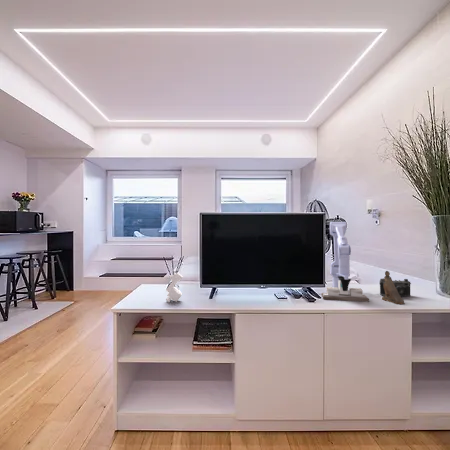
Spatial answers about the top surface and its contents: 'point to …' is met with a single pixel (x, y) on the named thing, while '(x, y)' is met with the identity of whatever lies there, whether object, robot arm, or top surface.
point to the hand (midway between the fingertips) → (344, 289)
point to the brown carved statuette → (391, 291)
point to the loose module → (341, 288)
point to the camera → (397, 287)
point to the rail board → (345, 295)
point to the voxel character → (174, 288)
